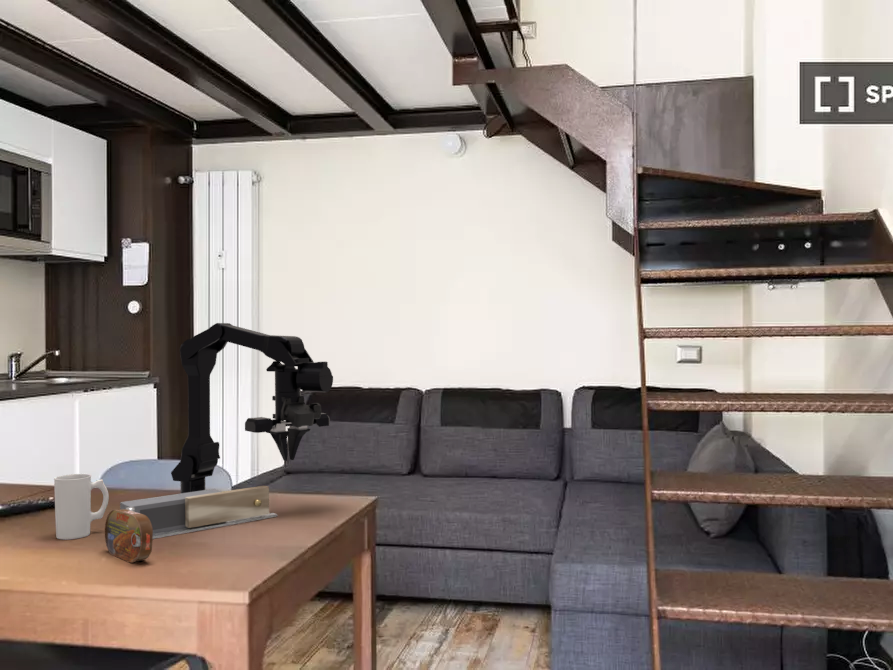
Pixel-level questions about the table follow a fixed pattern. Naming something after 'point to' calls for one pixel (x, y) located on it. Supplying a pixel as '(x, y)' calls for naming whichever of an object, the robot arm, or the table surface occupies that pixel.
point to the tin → (128, 535)
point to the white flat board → (186, 530)
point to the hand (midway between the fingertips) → (288, 460)
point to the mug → (76, 505)
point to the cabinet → (164, 510)
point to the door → (226, 506)
